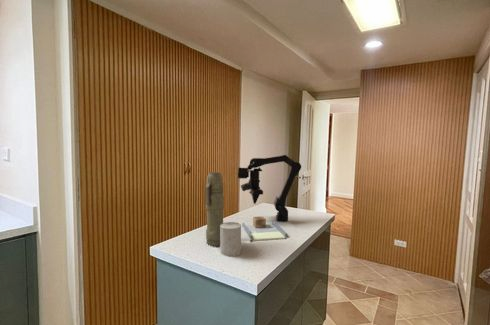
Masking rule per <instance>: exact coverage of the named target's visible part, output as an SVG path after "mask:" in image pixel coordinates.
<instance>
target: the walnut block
mask: <svg viewBox="0 0 490 325" xmlns="http://www.w3.org/2000/svg"><path fill="white" fill-rule="evenodd" d="M266 224H267V219H266V218H265V217H264V216H263V215H262V216H253V217H252V225H253V226H254V227H255V228H266Z"/></svg>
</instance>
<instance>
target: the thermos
mask: <svg viewBox="0 0 490 325" xmlns="http://www.w3.org/2000/svg"><path fill="white" fill-rule="evenodd" d="M205 209H206V229H205V238H206V245H207V244H208V245H207V246H209V245H210V246H209V247H220V225H221V224H223V223H224V209H225V197H224V183H223V176H222V173H220V172H218V171H217V172H216V171H215V172H214V171H213V172H211V171H210V172H209V173H208V174H207V176H206V185H205Z"/></svg>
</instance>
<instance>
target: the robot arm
mask: <svg viewBox="0 0 490 325" xmlns="http://www.w3.org/2000/svg"><path fill="white" fill-rule="evenodd" d="M249 160H250V161H249V165H247V167H241V166H239V167H238V168H237V169H238V170H237V171H238V172H237V180H239V179H240V180H241V179H243V180H244V179H248V178H249V180H248V182H246V183H243V184H241V185H240V188H241V190H242V192H245V191H248V193H250V195H251V197H252V198H251V199H252V203H253V204H254V205H255V204H256V203H257V201H258V199H259V197H260V195H264V191H263V189H261V187H260V182H261V180H260V172H263V170H262V169H261V167H262V166H266V165H270V164H274V163H275V164H276V163H283V162H284V163H285V164H287V165H288V166H289V168H288V176H287V178H286V180H285V182H284V185H283V186H282V190H281V192H280V195H279V196H275V200H274V201H273V205H274V208H275V210H276V211H277V212H276V215H275V218H276V220H275V221H276V223H277V222H280V223H286V222H289V210H288V209H287V207H286V203H287V197H288V195H289V192H290V190H291V188H292V186H293V183H294V180H295V178H296V176H297V175H298V174H299V172H300V170H301V169H302V164H301V163H300V162H298V161H294V160H293V159H292V158H290V157H288V155H287V154H282V155H275V156H270V157H254V158H251V159H249Z"/></svg>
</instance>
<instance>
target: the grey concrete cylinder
mask: <svg viewBox="0 0 490 325" xmlns="http://www.w3.org/2000/svg"><path fill="white" fill-rule="evenodd" d="M219 247H220V248H219V249H220V251H219V253H220V254H221V255H223V256H225V257H235V256H239V255H240V254H242V223H239V222H235V221H234V222H233V221H229V222H223V224H221V225H220V246H219Z"/></svg>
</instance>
